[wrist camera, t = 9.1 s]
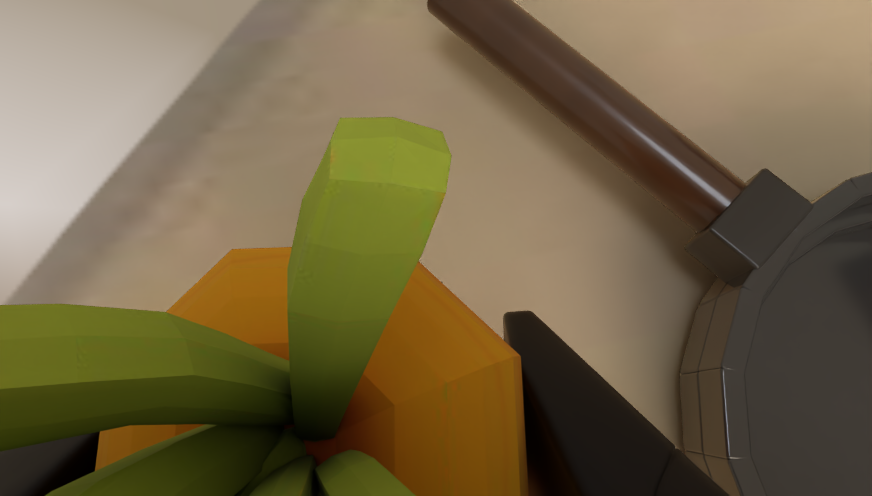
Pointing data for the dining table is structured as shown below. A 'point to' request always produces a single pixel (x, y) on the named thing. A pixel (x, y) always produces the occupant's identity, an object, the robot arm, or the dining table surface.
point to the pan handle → (634, 138)
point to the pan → (789, 362)
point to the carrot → (288, 357)
